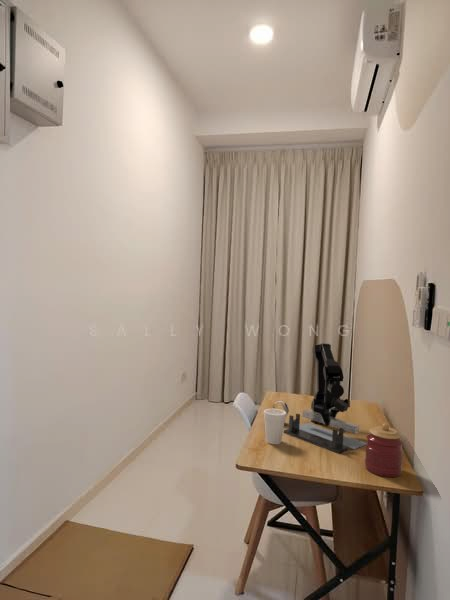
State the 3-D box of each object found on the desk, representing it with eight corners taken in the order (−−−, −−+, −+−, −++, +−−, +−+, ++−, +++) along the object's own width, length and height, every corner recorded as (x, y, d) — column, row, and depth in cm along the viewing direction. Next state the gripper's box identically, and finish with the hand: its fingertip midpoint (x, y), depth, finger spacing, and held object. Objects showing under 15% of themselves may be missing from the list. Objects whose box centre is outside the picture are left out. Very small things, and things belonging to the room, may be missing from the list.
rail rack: (293, 429, 191) (294, 412, 191) (348, 449, 170) (349, 429, 169) (283, 432, 186) (284, 414, 186) (338, 453, 165) (340, 433, 165)
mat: (307, 423, 201) (307, 422, 201) (366, 444, 177) (367, 443, 177) (293, 428, 194) (293, 427, 194) (353, 449, 170) (353, 448, 170)
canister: (371, 459, 161) (374, 415, 160) (405, 470, 152) (408, 424, 152) (359, 469, 151) (362, 423, 150) (395, 481, 142) (398, 432, 142)
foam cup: (287, 440, 176) (289, 411, 176) (279, 447, 168) (281, 416, 168) (267, 436, 181) (269, 407, 181) (258, 442, 173) (260, 412, 173)
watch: (287, 426, 195) (288, 404, 195) (271, 424, 198) (272, 402, 197) (288, 423, 201) (290, 401, 201) (272, 420, 203) (273, 399, 203)
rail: (306, 415, 197) (306, 409, 197) (358, 432, 176) (359, 425, 176) (302, 416, 195) (302, 410, 195) (355, 434, 174) (355, 426, 174)
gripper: (335, 398, 173) (332, 434, 173) (357, 392, 185) (355, 426, 186) (313, 392, 181) (311, 427, 181) (336, 387, 194) (334, 419, 194)
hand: (329, 425), depth 185 cm, fingers closed on rail, 3 cm apart
